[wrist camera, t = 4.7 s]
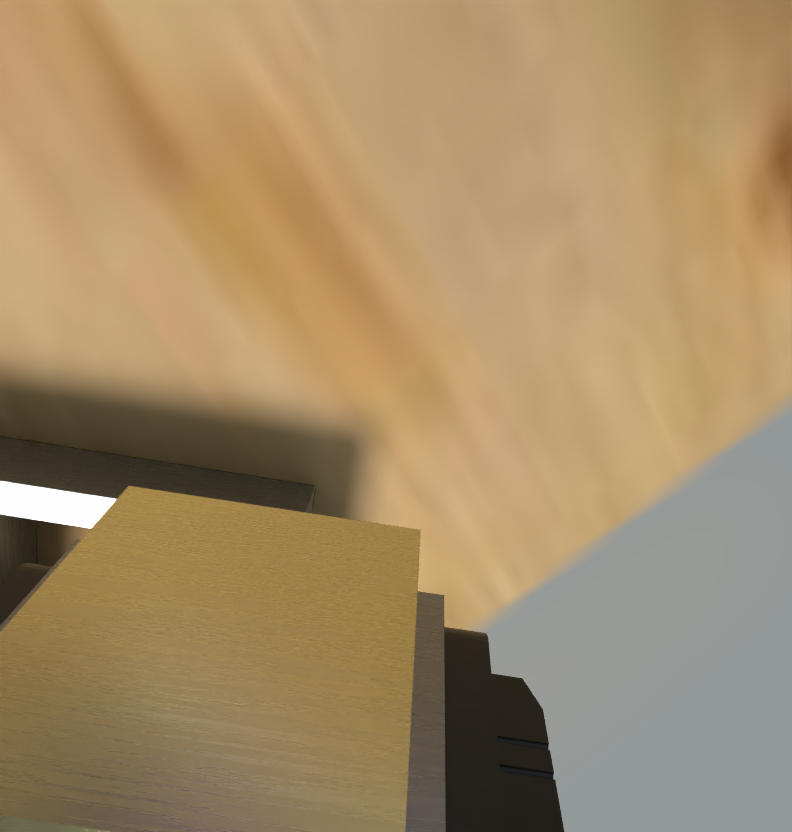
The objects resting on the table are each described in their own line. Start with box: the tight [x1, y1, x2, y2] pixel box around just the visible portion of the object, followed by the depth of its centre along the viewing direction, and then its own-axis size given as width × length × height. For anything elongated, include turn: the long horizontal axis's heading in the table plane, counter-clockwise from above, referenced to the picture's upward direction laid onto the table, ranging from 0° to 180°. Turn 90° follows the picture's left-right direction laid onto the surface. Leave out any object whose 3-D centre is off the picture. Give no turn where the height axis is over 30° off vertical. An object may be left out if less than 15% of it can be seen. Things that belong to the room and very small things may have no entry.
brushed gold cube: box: [0, 486, 446, 832], centre depth 8 cm, size 4×5×5 cm
